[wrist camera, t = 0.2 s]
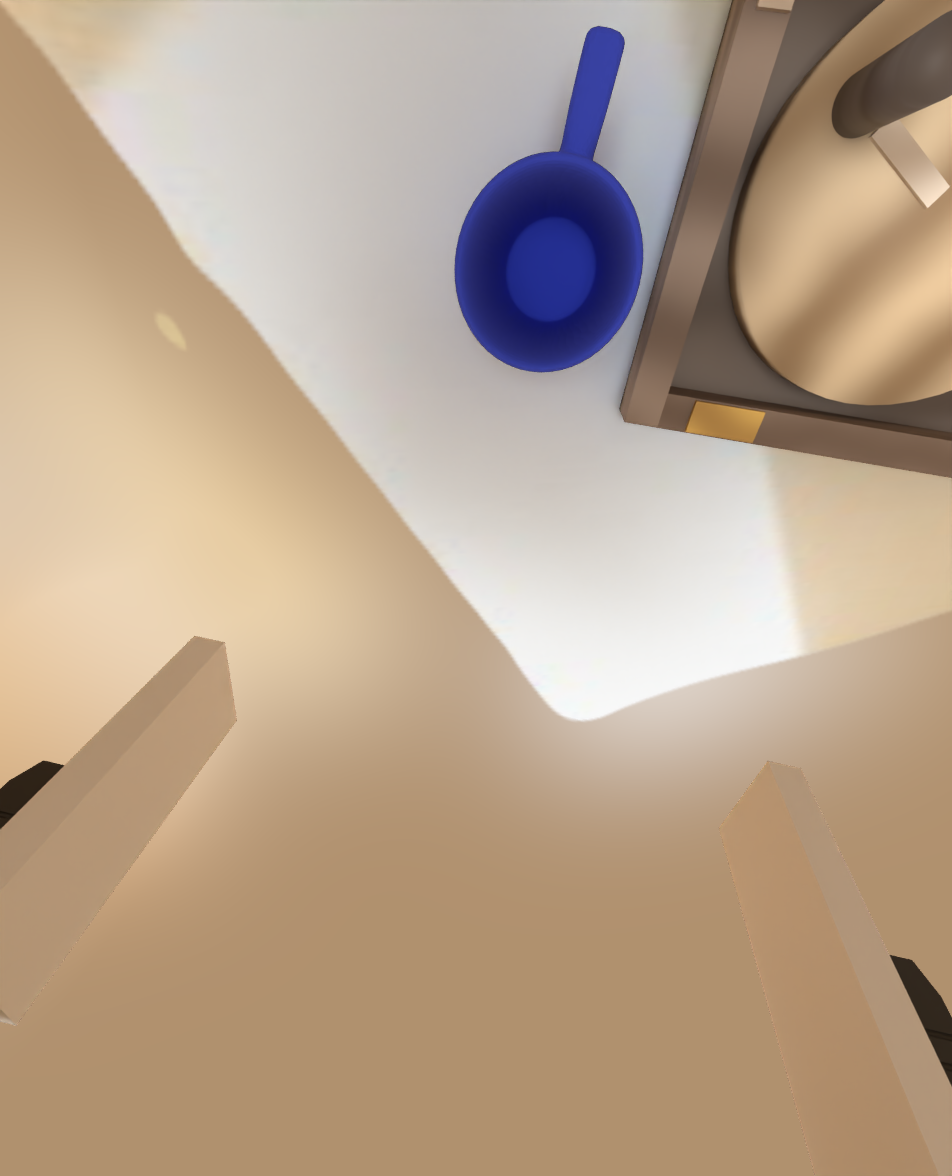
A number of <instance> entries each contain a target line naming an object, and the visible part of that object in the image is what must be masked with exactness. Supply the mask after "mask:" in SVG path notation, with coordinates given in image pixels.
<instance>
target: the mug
mask: <svg viewBox="0 0 952 1176" xmlns="http://www.w3.org/2000/svg"><path fill="white" fill-rule="evenodd" d="M624 44H625V42H624V37H623V36H622V35H621V33H620V32H618V31H616V30H613V29H611V28H607V27H601V26H597V27H594V28H591V29H590V30H589V31H588V33H587V35H586V38H585V42H584V46H583V50H582V54H581V58H580V62H579V66H578V71H577V75H576V79H575V84H574V88H573V92H572V97H571V101H570V105H569V110H568V115H567V120H566V125H565V130H564V135H563V140H562V144H561V148H560V151H559V152H544V153H538V154H534V155H531V156H528V157H525V158H523V159H520V160H518V161H516V162H514V163H513V164H511V165H509V166H508V167H506V168H505V169H504V170H502V171H501V172H499V173H498V174H497V175H496V176H495V177H494V178H493V179H492V180H491V181H490V182H489V183H488V184H487V185H486V186H485V187H484V188H483V190H482V191H481V192H480V194H479V195H478V196H477V198H476V199H475V201H474V202H473V204H472V206H471V208H470V210H469V211H468V214H467V216H466V218H465V220H464V223H463V225H462V228H461V232H460V235H459V239H458V243H457V248H456V256H455V284H456V292H457V296H458V301H459V305H460V308H461V311H462V313H463V316H464V318H465V320H466V322H467V325H468V326H469V328H470V330H471V331H472V333H473V335H474V336H475V337H476V339H477V340H478V341H479V342H480V344H481V345H482V346H483V347H484V348H485V349H486V350H487V351H488V352H490V353H491V354H492V355H493V356H494V357H496V358H497V359H499V360H500V361H502V362H504V363H506V364H508V365H510V366H512V367H515V368H518V369H521V370H526V371H531V372H553V371H559V370H563V369H566V368H569V367H572V366H575V365H577V364H579V363H581V362H583V361H585V360H586V359H588V358H590V357H591V356H593V355H594V354H595V353H597V352H598V351H599V350H600V349H601V348H603V347H604V346H605V345H606V344H607V343H608V342H609V341H610V340H611V339H612V337H613V336H614V335H615V334H616V333H617V331H618V330H619V328H620V327H621V326H622V324H623V323H624V321H625V319H626V317H627V316H628V314H629V312H630V310H631V307H632V305H633V303H634V300H635V297H636V295H637V291H638V288H639V284H640V279H641V274H642V265H643V242H642V234H641V229H640V224H639V220H638V217H637V214H636V211H635V209H634V206H633V204H632V202H631V200H630V198H629V196H628V194H627V193H626V191H625V190H624V188H623V187H622V186H621V184H620V183H619V182H618V181H617V180H616V178H615V177H614V176H613V175H612V174H611V173H610V172H608V171H607V170H606V169H605V168H603V167H602V166H601V165H599V164H598V163H596V162H594V161H593V156H594V152H595V149H596V145H597V142H598V139H599V135H600V132H601V129H602V125H603V122H604V119H605V115H606V112H607V108H608V105H609V101H610V98H611V94H612V90H613V87H614V83H615V79H616V76H617V72H618V69H619V65H620V61H621V57H622V53H623V49H624Z"/></svg>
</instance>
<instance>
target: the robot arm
mask: <svg viewBox="0 0 952 1176" xmlns="http://www.w3.org/2000/svg"><path fill="white" fill-rule="evenodd" d="M236 721H237V718H236V712H235V705H234V699H233V693H232V686H231V680H230V673H229V667H228V660H227V654H226V647H225V642H220V641H216V640H211V639H207V638H202V637H197V636H194V637H193V638H192V639H191V640H190V641H189V642H188V643H187V644H186V645H185V646H184V647H183V648H182V649H181V650H180V651H179V652H178V653H177V654H176V655H175V656H174V657H173V658H172V659H171V660H170V661H169V662H168V663H167V664H166V665H165V666H164V667H163V668H162V669H161V670H160V671H159V672H158V673H157V674H156V675H155V676H154V677H153V678H152V679H151V680H150V681H149V682H148V683H147V684H146V685H145V686H144V687H143V688H142V689H141V690H140V691H139V692H138V693H137V694H136V695H135V696H134V697H133V698H132V699H131V700H130V701H129V702H128V703H127V704H126V705H125V706H124V707H123V708H122V709H121V710H120V711H119V712H118V713H117V714H116V715H115V716H114V717H113V718H112V719H111V720H110V721H109V722H108V723H107V724H106V725H105V726H104V727H103V728H102V729H101V730H100V731H99V732H98V733H97V734H96V735H95V736H94V737H93V738H92V739H91V740H90V741H89V742H88V743H87V744H86V745H85V746H84V747H83V748H82V749H81V750H80V751H79V752H78V753H77V754H76V755H75V756H74V757H73V758H72V759H71V760H70V761H69V762H68V763H67V764H66V765H60V764H56V763H52V762H48V761H42V762H40V763H38V764H37V765H35V766H33V767H32V768H30V769H28V770H27V771H25V772H23V773H21V774H20V775H18V776H16V777H15V778H13V779H11V780H9V781H8V782H7V783H6V784H5V785H4V786H3V787H2V788H1V789H0V1022H4V1023H8V1024H12V1025H17V1024H18V1023H19V1021H20V1020H21V1019H22V1017H23V1016H24V1014H25V1013H26V1011H27V1010H28V1009H29V1007H30V1006H31V1005H32V1003H33V1002H34V1001H35V999H36V998H37V996H38V995H39V994H40V992H41V991H42V989H43V988H44V987H45V985H46V984H47V983H48V981H49V980H50V978H51V977H52V976H53V974H54V973H55V971H56V970H57V969H58V967H59V966H60V964H61V963H62V962H63V960H64V959H65V958H66V956H67V955H68V953H69V952H70V950H71V949H72V948H73V946H74V945H75V944H76V942H77V941H78V939H79V938H80V937H81V935H82V934H83V933H84V931H85V930H86V929H87V927H88V926H89V924H90V923H91V922H92V920H93V919H94V917H95V916H96V915H97V913H98V912H99V910H100V909H101V908H102V906H103V905H104V904H105V902H106V901H107V899H108V898H109V896H110V895H111V894H112V892H113V891H114V890H115V888H116V887H117V886H118V884H119V883H120V881H121V880H122V878H123V877H124V876H125V874H126V873H127V872H128V870H129V869H130V868H131V866H132V865H133V863H134V862H135V861H136V859H137V858H138V856H139V855H140V854H141V852H142V851H143V850H144V848H145V847H146V845H147V844H148V843H149V841H150V840H151V838H152V837H153V836H154V834H155V833H156V832H157V830H158V829H159V827H160V826H161V825H162V823H163V822H164V820H165V819H166V818H167V816H168V815H169V814H170V812H171V811H172V809H173V808H174V807H175V805H176V804H177V802H178V801H179V799H180V798H181V797H182V795H183V794H184V793H185V791H186V790H187V789H188V787H189V786H190V784H191V783H192V782H193V780H194V779H195V777H196V776H197V775H198V773H199V772H200V770H201V769H202V768H203V766H204V765H205V764H206V762H207V761H208V759H209V758H210V757H211V755H212V754H213V753H214V751H215V750H216V748H217V747H218V746H219V744H220V743H221V741H222V740H223V739H224V737H225V736H226V735H227V733H228V732H229V730H230V729H231V728H232V726H233V725H234V723H235V722H236ZM719 831H720V835H721V838H722V842H723V846H724V849H725V852H726V856H727V860H728V864H729V867H730V871H731V874H732V878H733V882H734V885H735V889H736V893H737V896H738V900H739V903H740V907H741V911H742V914H743V918H744V921H745V925H746V929H747V932H748V936H749V940H750V943H751V947H752V950H753V954H754V957H755V961H756V965H757V969H758V972H759V976H760V979H761V983H762V987H763V990H764V994H765V997H766V1001H767V1005H768V1008H769V1012H770V1016H771V1019H772V1023H773V1026H774V1030H775V1034H776V1037H777V1041H778V1045H779V1048H780V1052H781V1055H782V1059H783V1063H784V1066H785V1070H786V1073H787V1077H788V1081H789V1084H790V1088H791V1091H792V1095H793V1099H794V1102H795V1106H796V1110H797V1113H798V1117H799V1120H800V1124H801V1128H802V1131H803V1135H804V1139H805V1142H806V1146H807V1149H808V1153H809V1157H810V1160H811V1164H812V1167H813V1171H814V1175H815V1176H952V1017H951V1015H950V1013H949V1011H948V1009H947V1007H946V1006H945V1003H944V1002H943V1000H942V998H941V996H940V995H939V994H938V992H937V991H936V990H935V989H934V987H933V986H932V985H931V984H930V982H929V981H928V980H927V978H926V977H925V976H924V975H923V973H922V972H921V971H920V970H919V969H918V967H917V966H916V965H915V963H914V962H913V961H912V960H909V959H905V958H900V957H896V956H892V955H889V953H888V951H887V949H886V947H885V945H884V943H883V941H882V938H881V937H880V934H879V932H878V930H877V928H876V926H875V924H874V922H873V919H872V917H871V915H870V913H869V911H868V909H867V907H866V905H865V903H864V900H863V899H862V896H861V894H860V892H859V890H858V888H857V886H856V884H855V881H854V879H853V877H852V875H851V873H850V871H849V869H848V867H847V865H846V863H845V860H844V858H843V857H842V854H841V852H840V850H839V848H838V846H837V843H836V841H835V839H834V837H833V835H832V833H831V831H830V829H829V827H828V824H827V822H826V820H825V818H824V816H823V814H822V812H821V810H820V808H819V805H818V804H817V802H816V799H815V797H814V795H813V793H812V791H811V789H810V786H809V785H808V782H807V780H806V778H805V776H804V774H803V772H802V770H801V768H797V767H793V766H788V765H783V764H779V763H774V762H770V761H767V763H766V765H765V766H764V767H763V768H762V770H761V771H760V773H759V774H758V775H757V777H756V778H755V779H754V781H753V782H752V783H751V785H750V786H749V788H748V789H747V790H746V792H745V793H744V794H743V796H742V797H741V798H740V800H739V801H738V803H737V804H736V805H735V807H734V808H733V809H732V811H731V812H730V814H729V815H728V817H727V818H726V819H725V821H724V822H723V823H722V825H721V826H720V827H719Z"/></svg>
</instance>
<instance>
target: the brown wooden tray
mask: <svg viewBox="0 0 952 1176" xmlns="http://www.w3.org/2000/svg"><path fill="white" fill-rule="evenodd" d="M883 1H885V0H732V4H731V8H730V11H729V15H728V18H727V22H726V26H725V29H724V33H723V36H722V40H721V44H720V47H719V51H718V54H717V58H716V62H715V65H714V69H713V73H712V76H711V80H710V83H709V87H708V91H707V94H706V98H705V101H704V105H703V109H702V112H701V116H700V120H699V123H698V127H697V130H696V134H695V138H694V141H693V145H692V148H691V152H690V156H689V159H688V163H687V166H686V170H685V174H684V177H683V181H682V185H681V188H680V192H679V195H678V199H677V203H676V206H675V210H674V213H673V217H672V221H671V224H670V228H669V231H668V235H667V239H666V242H665V246H664V250H663V253H662V257H661V260H660V264H659V268H658V271H657V275H656V278H655V282H654V286H653V289H652V293H651V296H650V300H649V304H648V307H647V311H646V315H645V318H644V322H643V325H642V329H641V333H640V336H639V340H638V343H637V347H636V351H635V354H634V358H633V361H632V365H631V369H630V372H629V376H628V380H627V383H626V387H625V390H624V394H623V398H622V401H621V405H620V408H619V409H620V412H621V414H622V417H623V419H624V422H628V423H633V424H639V425H645V426H651V427H657V428H663V429H669V430H674V431H680V432H686V433H692V434H698V435H704V436H710V437H715V438H721V439H727V440H733V441H739V442H745V443H751V444H756V445H762V446H768V447H774V448H780V449H786V450H792V451H798V452H803V453H809V454H815V455H821V456H827V457H833V458H839V459H844V460H850V461H856V462H862V463H868V464H874V465H880V466H885V467H891V468H897V469H903V470H909V471H915V472H921V473H926V474H932V475H938V476H944V477H950V478H952V390H951V391H948V392H945V393H943V394H940V395H936V396H932V397H928V398H924V399H920V400H917V401H911V402H905V403H898V404H891V405H859V404H849V403H843V402H839V401H835V400H831V399H826V398H824V397H821V396H819V395H816V394H814V393H812V392H809V391H807V390H805V389H803V388H801V387H799V386H797V385H795V384H793V383H791V382H789V381H788V380H786V379H785V378H783V377H781V376H780V375H778V374H776V373H775V372H774V371H773V370H772V369H771V368H769V367H768V366H767V365H766V364H765V363H764V362H763V361H762V360H761V359H760V358H759V356H758V355H757V354H756V353H755V352H754V350H753V349H752V348H751V346H750V345H749V343H748V341H747V339H746V338H745V336H744V334H743V332H742V330H741V328H740V325H739V322H738V320H737V317H736V315H735V312H734V307H733V303H732V298H731V293H730V285H729V272H728V262H729V243H730V237H731V230H732V224H733V218H734V214H735V211H736V207H737V203H738V200H739V196H740V192H741V189H742V186H743V184H744V181H745V179H746V176H747V173H748V171H749V168H750V166H751V163H752V161H753V159H754V157H755V155H756V153H757V151H758V149H759V147H760V145H761V143H762V141H763V139H764V137H765V135H766V133H767V131H768V129H769V128H770V126H771V124H772V123H773V121H774V120H775V118H776V116H777V115H778V113H779V112H780V110H781V108H782V107H783V105H784V104H785V102H786V101H787V100H788V98H789V97H790V96H791V94H792V93H793V92H794V90H795V89H796V88H797V86H798V85H799V84H800V82H801V81H802V80H803V78H804V77H805V76H806V74H807V73H808V72H809V71H810V70H811V69H812V68H813V67H814V66H815V64H816V63H817V62H818V61H819V60H820V59H821V58H822V57H823V56H824V54H825V53H826V52H827V51H828V50H829V49H830V48H831V47H832V46H833V45H834V44H835V43H836V42H838V41H839V40H840V39H841V38H842V37H843V36H844V35H845V34H846V33H847V32H848V31H850V30H851V29H852V28H853V27H854V26H855V25H856V24H857V23H858V22H860V21H861V20H862V19H863V18H864V17H866V16H867V15H868V14H869V13H870V12H872V11H873V10H874V9H875V8H876V7H878V6H879V5H880V4H881V3H882V2H883Z"/></svg>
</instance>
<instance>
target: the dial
mask: <svg viewBox="0 0 952 1176" xmlns="http://www.w3.org/2000/svg"><path fill="white" fill-rule="evenodd" d="M728 272H729V285H730V293H731V298H732V303H733V307H734V312H735V315H736V317H737V320H738V322H739V325H740V328H741V330H742V332H743V334H744V336H745V338H746V339H747V341H748V343H749V345H750V346H751V348H752V349H753V350H754V352H755V353H756V354H757V355H758V356H759V358H760V359H761V360H762V361H763V362H764V363H765V364H766V365H767V366H768V367H769V368H771V369H772V370H773V371H774V372H775V373H776V374H778V375H780V376H781V377H783V378H785V379H786V380H788V381H789V382H791V383H793V384H795V385H797V386H799V387H801V388H803V389H805V390H807V391H809V392H812V393H814V394H816V395H819V396H821V397H824V398H826V399H831V400H835V401H839V402H843V403H849V404H859V405H891V404H898V403H905V402H911V401H917V400H920V399H924V398H928V397H932V396H936V395H940V394H943V393H945V392H948V391H951V390H952V0H885V1H883V2H882V3H881V4H880V5H879V6H878V7H876V8H875V9H874V10H873V11H872V12H870V13H869V14H868V15H867V16H866V17H864V18H863V19H862V20H861V21H860V22H858V23H857V24H856V25H855V26H854V27H853V28H852V29H851V30H850V31H848V32H847V33H846V34H845V35H844V36H843V37H842V38H841V39H840V40H839V41H838V42H836V43H835V44H834V45H833V46H832V47H831V48H830V49H829V50H828V51H827V52H826V53H825V54H824V56H823V57H822V58H821V59H820V60H819V61H818V62H817V63H816V64H815V66H814V67H813V68H812V69H811V70H810V71H809V72H808V73H807V74H806V76H805V77H804V78H803V80H802V81H801V82H800V84H799V85H798V86H797V88H796V89H795V90H794V92H793V93H792V94H791V96H790V97H789V98H788V100H787V101H786V102H785V104H784V105H783V107H782V108H781V110H780V112H779V113H778V115H777V116H776V118H775V120H774V121H773V123H772V124H771V126H770V128H769V129H768V131H767V133H766V135H765V137H764V139H763V141H762V143H761V145H760V147H759V149H758V151H757V153H756V155H755V157H754V159H753V161H752V163H751V166H750V168H749V171H748V173H747V176H746V179H745V181H744V184H743V186H742V189H741V192H740V196H739V200H738V203H737V207H736V211H735V214H734V218H733V224H732V230H731V237H730V243H729V262H728Z"/></svg>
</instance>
